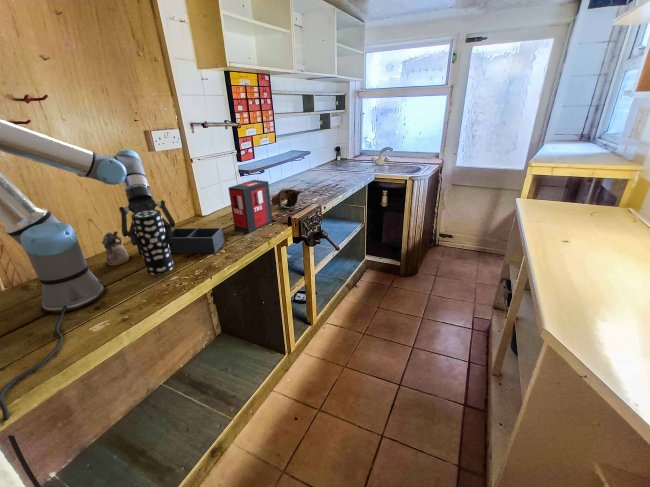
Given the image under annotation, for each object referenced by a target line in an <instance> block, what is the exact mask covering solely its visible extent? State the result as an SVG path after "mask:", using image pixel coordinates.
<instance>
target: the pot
mask: <svg viewBox="0 0 650 487" xmlns="http://www.w3.org/2000/svg"><path fill="white" fill-rule="evenodd" d="M302 191H303V189H298V190H297V189H292V188H289V187H287V188H286V187H285V188H282V189H280V190H279V192H278V193H276V194H274V195H273V196H272V197H271V205H272V204H273V205H276V206H277V207H279V208H281V207H282V208H285V209H291V208H294V207H295V206H297V204H298V201H299V196H300V195H301V193H302ZM283 201H286V204H283Z"/></svg>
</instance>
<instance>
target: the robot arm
mask: <svg viewBox="0 0 650 487" xmlns="http://www.w3.org/2000/svg"><path fill="white" fill-rule="evenodd" d="M0 152H3V153H6V154H10V155H13V156H15V157H18V158H19V157H20V158H22V159H26V160H29V161H33V162H36V163H39V164H42V165H45V166H49V167H53V168H55V169H60V170H62V171H65V172H70V173H72V174H75V175H76V176H77V177H80V178H87V179H92V180H95V181H98V182H102V183H103V184H105V185H110V186H114V185H115V186H116V185H119V184H122V186H123V190H124V192H125V196H126V200H127V202H128V205H127V206H125V207H123V206H119V207H118V210H119V212H120V215H121V234H122V236H123V238H126V237H129V238H130V242H131V245H132V246H136V247H137V251H138V254H139V256H141V255H142V251H141V248H140V245H139V241H138V238H137V234H136V231H135V227H134V224H133V221H132V220H131V223H130V226H129V230H128V217H127V215H128V214H129V211H130V212H131V213H133V214H134V213H137V212H140V211H145V210H156V207H158V208H159V209H161V211H162V214H163V215H164V217H165V218H164V217H163V216H162V220H163V224H164V228H165V232H166V236H167V240H168V243H169V246H170V248H172V242H171V239H170V238H171V237H173V234H172V229H173V228H176V221H175V220H174V218H173V216H172V215H171V213H170V212H169V210H168V208H167V206H166V202H165V200H160V201H156V200H155V199H154V197H153V193H152V191H151V187H150V184H149V181H148V179H147V176H146V173H145V169H144V164H143V162H142V160H141V158H140V155H139V154H138V153H137V152H136V151H134V150H131V149H125V150H119V151H118V152H116V153H115V155H105V154H99V153H97V152H94V151H91V150H89V149H87V148H83V147H80V146H77V145H75V144H72V143H69V142H67V141H64V140H61V139H58V138H56V137H52V136H50V135H47V134H44V133H42V132H39V131H36V130H33V129H30V128H28V127H24V126H22V125H19V124H16V123H14V122H11V121H7V120H5V119H3V118H0ZM0 220H1V221H2V222H3V223H4V224H5V227H4V233H6V234H7V235H8V236H10V238H12V239H13V240H14V241H15V242H17V243H18V245H20V246H21V247H22V249H23V250H24V251H25V252H26V255H27V257H28V259H29V262H30V264H31V266H32V268H33V270H34V273H35V275H36V276H37V278H38V281H39V282H40V286H41V287H40V288H41V307H42V308H43V310H44V312H46V313H49V314H59V317H58V319H57V321H56V323H55V326H54V332H55V334H56V335H57V336H58V342H57V344H56V346H55V347H54V348H53V349H52V351H51V352H49V353H48V354H47V355H46V356H45V358H43V359H42V360H41V361H40V362H38V363H37V364H36V365H34V366H33V367H31V368H29V369H28V370H26V371H24V372H23V373H21V374H19V375H18V376H16V377H15V378H14V379H12V380H11V381H9V382H8V383H7V384H6V385H5V386H4V387H2V389H1V391H0V409H1V412H2V416H3V421H4V422H6V421H8V420H9V419H10V413H9V409H8V406H7V404H6V402H5V400H4V395H5V393H6V392H7V391H8V390H9V388H10V387H12V386H13V385H14V384H15V383H17V382H18V381H20V380H21V379H23V378H24V377H26V376H27V375H29V374H31V373H33V372H34V371H36V370H37V369H39V368H41V366H43V365H44V364H45V363H46V362H47V361H48V360H49V359H51V358H52V357H53V355H55V353H57V351H58V350H59V349H60V347H61V345H62V343H63V341H64V336H63V334H62V333H61V331H60V329H59V327H60V325H61V321H62V320H63V317H64V315H65V313H68V312H69V313H70V312H72V311H76V310H80V309H82V308H84V307H87V306H88V305H91V304H92V303H94V302H96V301H97V300H98V299H100V298H101V297H102V296H103V294H105V287H104V283H103V281H102V280H101V279H98V278H97V277H96V276H95V275H94V273H93V272H92V271H91V270H90V268H89V265H88V263H87V261H86V258H85V255H84V253H83V249H82V247H81V246H80V242H79V240H78V235H77V233H76V231H75V230H74V228H73V227H72V226H71V225H70V224H69V223H66V222H61V221H60V220H59V219H57V217H56V216H54V214H52V212H51V211H49V210H48V208H44V207H38V206H37V205H36V204H34V202H33V201H31V199H30V198H28V197H27V196H26V194H24V193H23V192H22V191H21V190H20V189H19V188H18V187H17V186H16V185H15V184H14V183H13V182H12V181H11V180H10V179H9V178H8V177H7V176H6V175H5V174H4V173H3V172H2V171H1V170H0ZM7 437H8V440H9V443H10V445H11V447H12V450H13V451H14V454H15V455H16V457H17V459H18V461H19V463H20V465H21V467H22V468H23V470H24V472H25V474H26V475H27V477H28V479H29V480H30V482H31V483H32V485H33V486H34V487H42V486H41V484H40V482H39V481H38V479H37V477H36V476H35V475H34V473H33V471H32V470H31V468H30V466H29V464H28V463H27V461H26V460H27V459H25V456H24V455H23V453H22V451H21V449H20V447H19V444H18V441H17V440H16V437H15V435H7Z"/></svg>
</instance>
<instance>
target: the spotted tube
mask: <svg viewBox="0 0 650 487" xmlns="http://www.w3.org/2000/svg"><path fill="white" fill-rule="evenodd" d="M162 217H163V216H162V212H161V211H160V210H158V209H155V210H145V211H140V212H137V213H133V214H131V222H132V221H133V224H134V227H135V233H136V234H137V238H138V241H139V245H140V248H141V251H142V254H141V255H142V259H143V261H144V265H145V269H146V272H147V274H149V275H154V276H155V275H156V276H157V275H163V274H165V273H168V272H170V271H171V270H173V269H174V267H175V265H174V261H173V258H172V253H170V248H169V244H168V240H167V236H166V232H165V227H164V224H163V220H162Z"/></svg>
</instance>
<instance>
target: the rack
mask: <svg viewBox="0 0 650 487" xmlns="http://www.w3.org/2000/svg"><path fill="white" fill-rule="evenodd" d="M171 231H172V234H173V237H171V238H170V239H171V242H172V248H170V246H169V248H170V253H171V254H216V253H217V252H218V251H219V249H220V248H221V247H222V246H223V245H224V244H225V237H224V232H223V228H222V227H184V228H183V227H173V228H172V229H171ZM168 244H169V243H168Z"/></svg>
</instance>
